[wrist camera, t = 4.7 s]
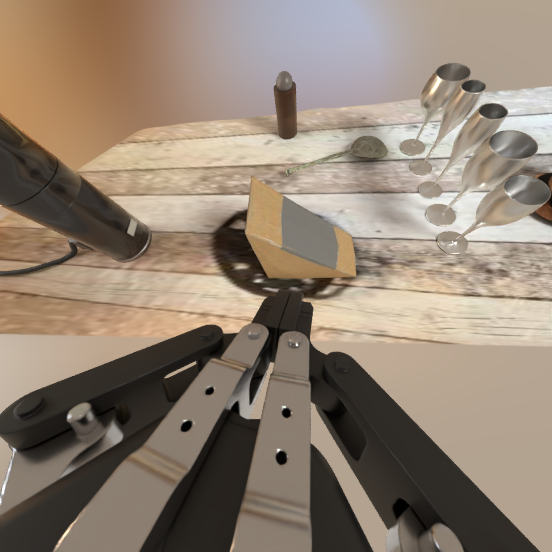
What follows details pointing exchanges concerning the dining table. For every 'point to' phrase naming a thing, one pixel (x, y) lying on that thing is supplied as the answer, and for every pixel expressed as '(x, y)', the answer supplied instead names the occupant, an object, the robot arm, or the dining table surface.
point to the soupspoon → (353, 151)
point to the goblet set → (475, 156)
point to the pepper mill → (286, 105)
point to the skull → (548, 209)
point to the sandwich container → (295, 238)
